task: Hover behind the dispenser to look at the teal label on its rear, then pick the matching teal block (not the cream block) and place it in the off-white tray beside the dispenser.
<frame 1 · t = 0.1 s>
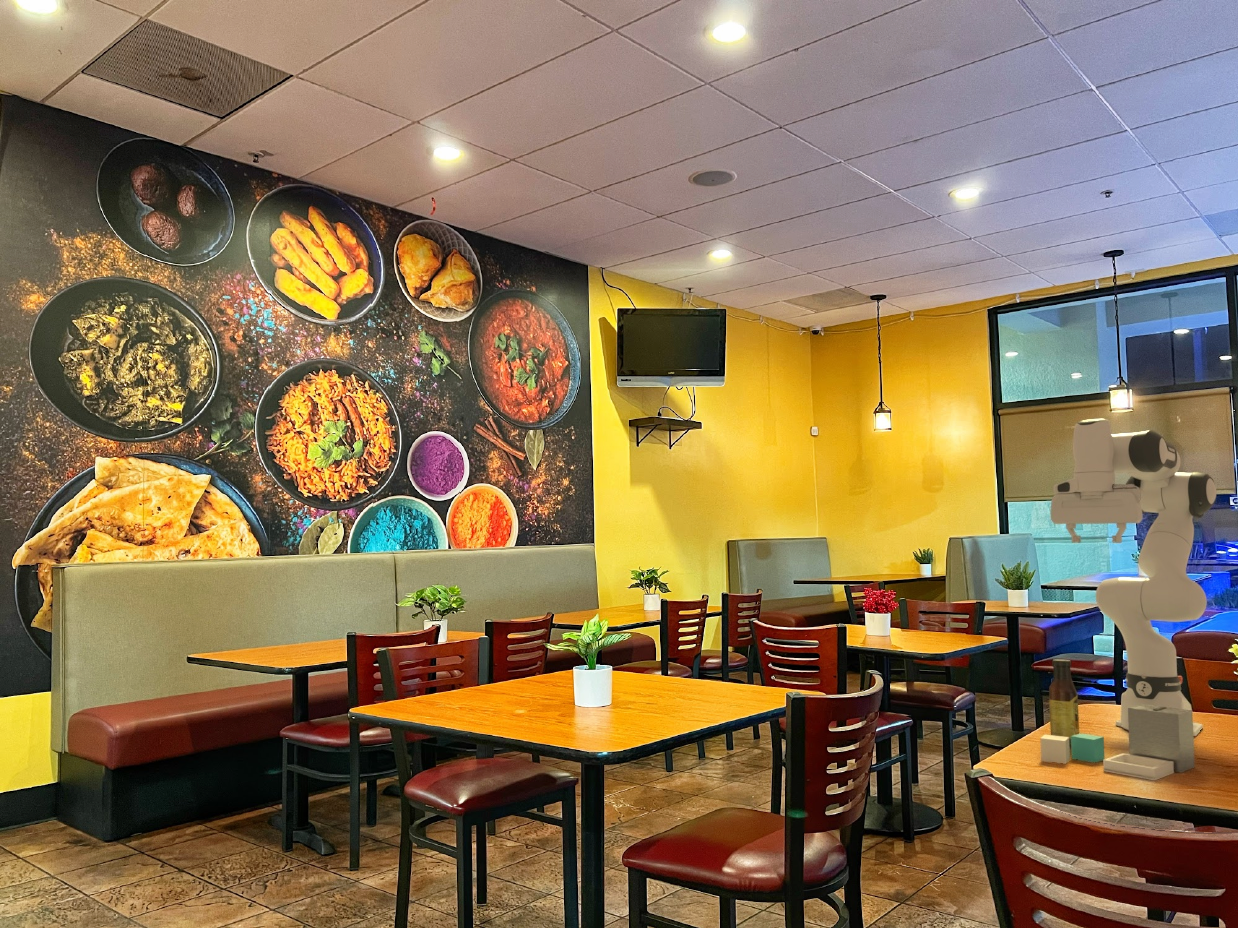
hand: (1096, 542, 224), 48 cm above the table, tool pointing down, fingers open, 8 cm apart
tray: (1138, 771, 197), on the table
dispenser: (1162, 765, 202), on the table
teal block: (1088, 759, 208), on the table
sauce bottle: (1065, 745, 223), on the table
cream block: (1055, 760, 207), on the table
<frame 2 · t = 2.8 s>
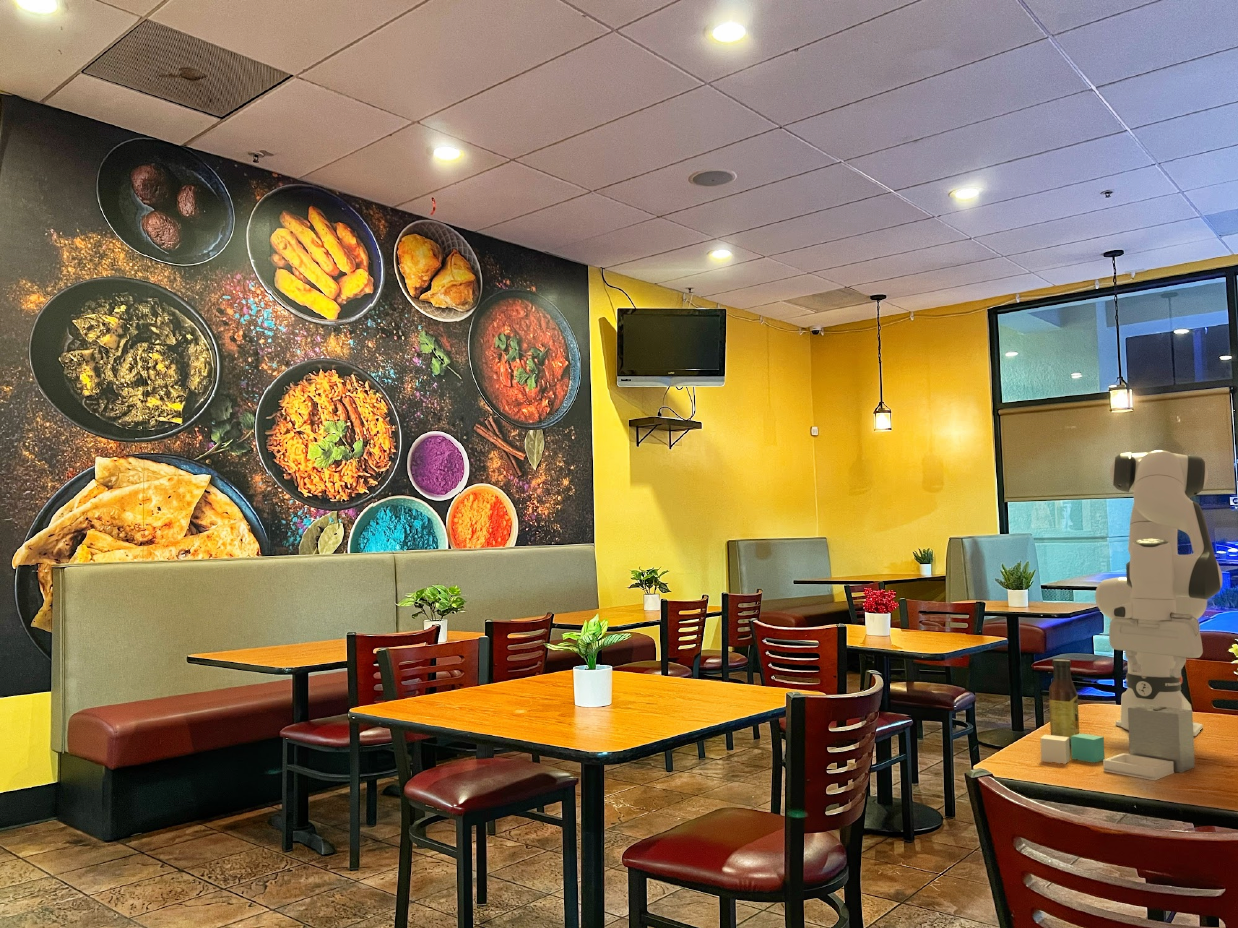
hand: (1155, 674, 208), 19 cm above the table, tool pointing down, fingers open, 8 cm apart
nothing on the table moved.
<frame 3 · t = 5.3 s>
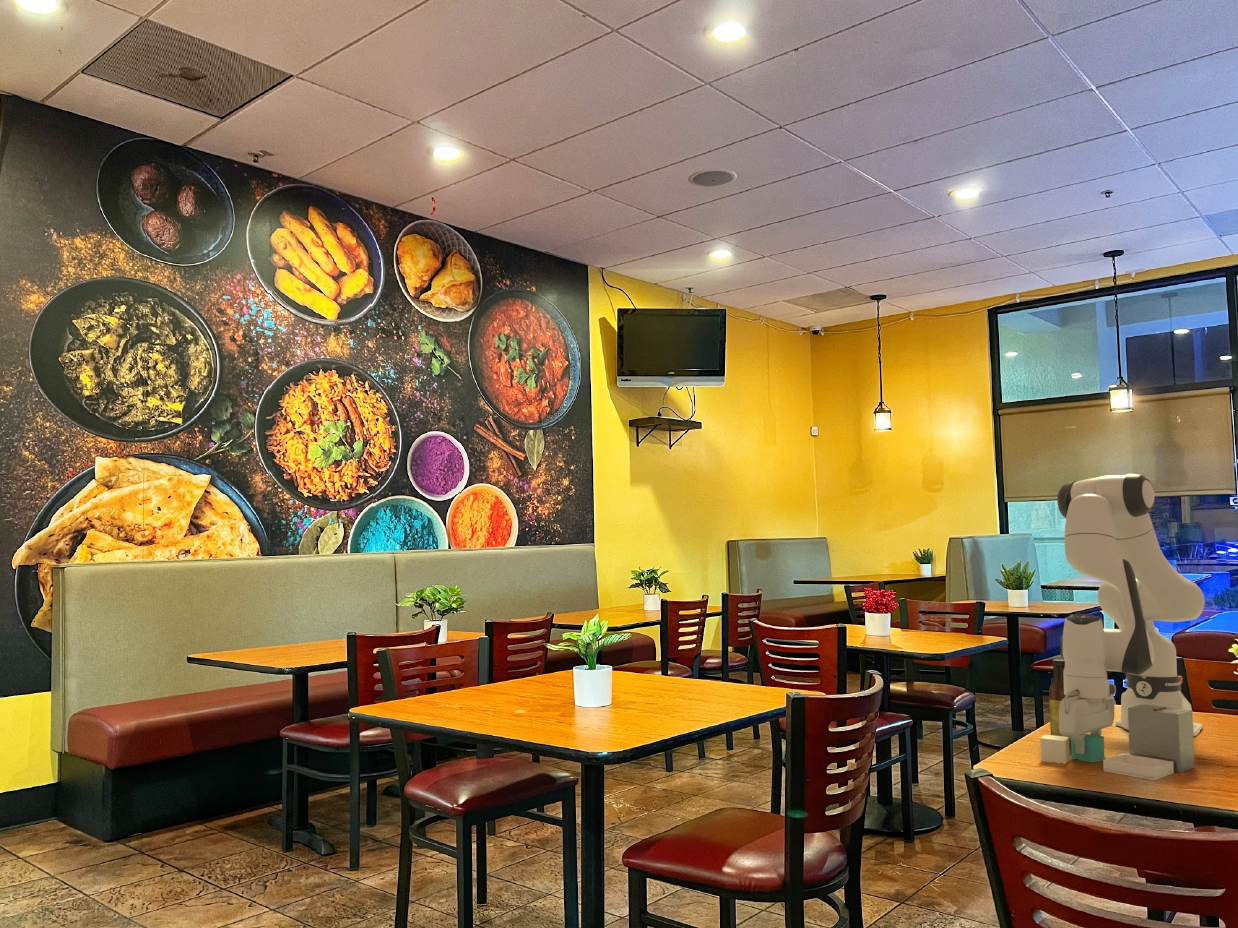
hand: (1087, 751, 208), 2 cm above the table, tool pointing down, fingers closed on teal block, 5 cm apart
teal block: (1088, 758, 208), on the table, touching gripper
everything else where it was.
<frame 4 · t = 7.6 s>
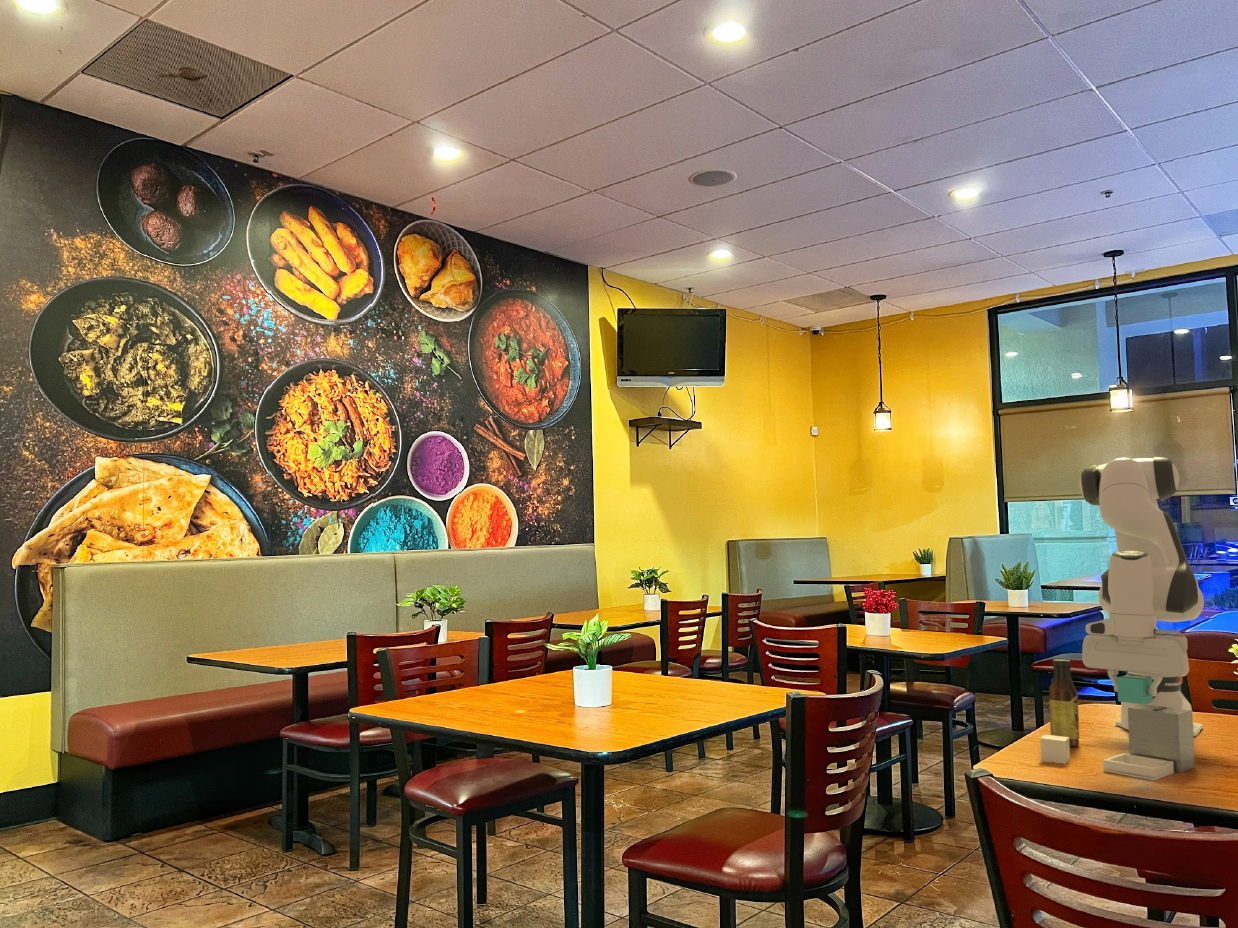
hand: (1135, 693, 198), 16 cm above the table, tool pointing down, fingers closed on teal block, 5 cm apart
teal block: (1135, 701, 198), point 15 cm above the table, touching gripper
everything else where it was.
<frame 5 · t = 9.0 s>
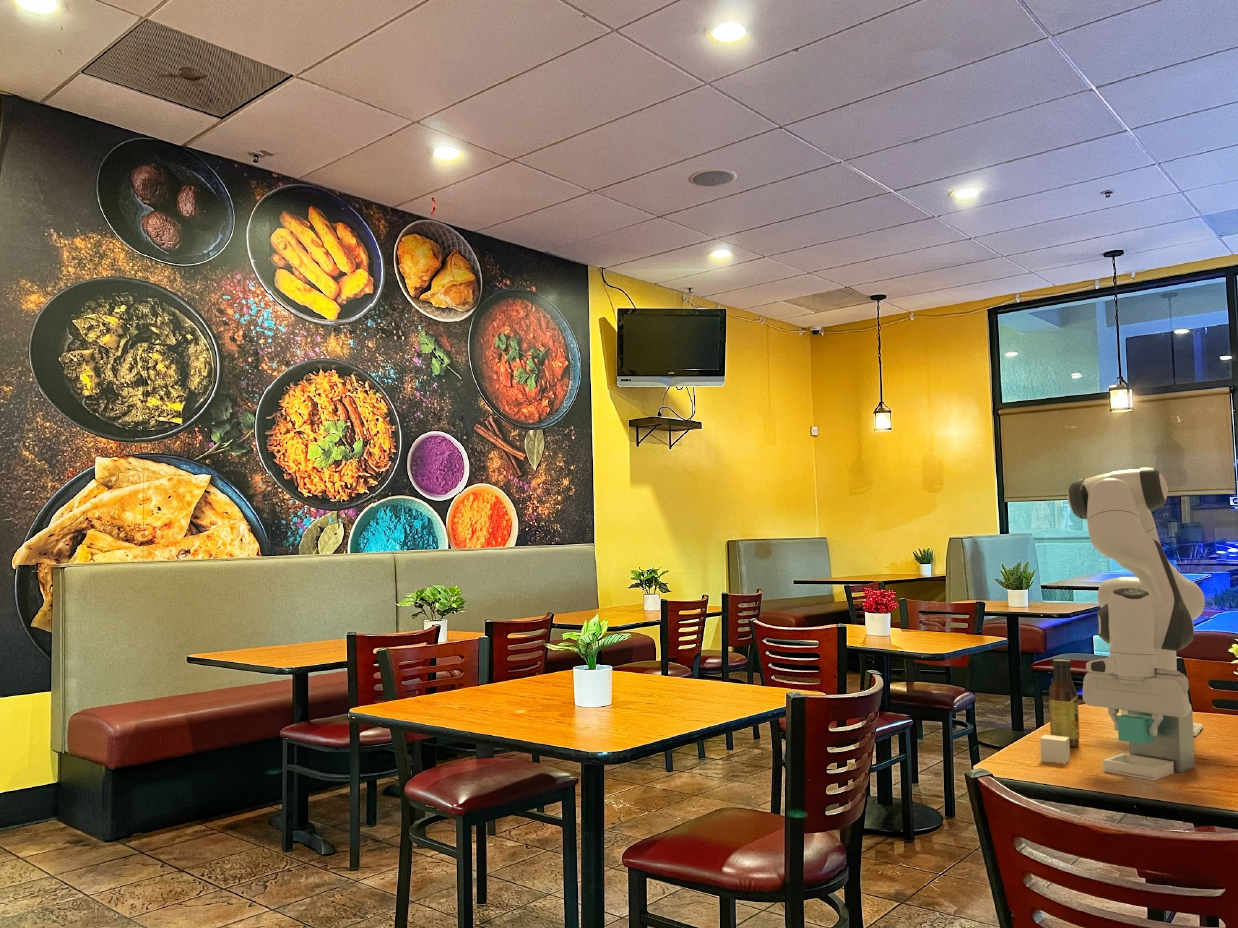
hand: (1135, 732, 197), 8 cm above the table, tool pointing down, fingers closed on teal block, 5 cm apart
teal block: (1136, 740, 197), point 6 cm above the table, touching gripper
everything else where it was.
when the fingers open (5 cm above the table, at t = 10.1 s): teal block drops 2 cm, resting on tray.
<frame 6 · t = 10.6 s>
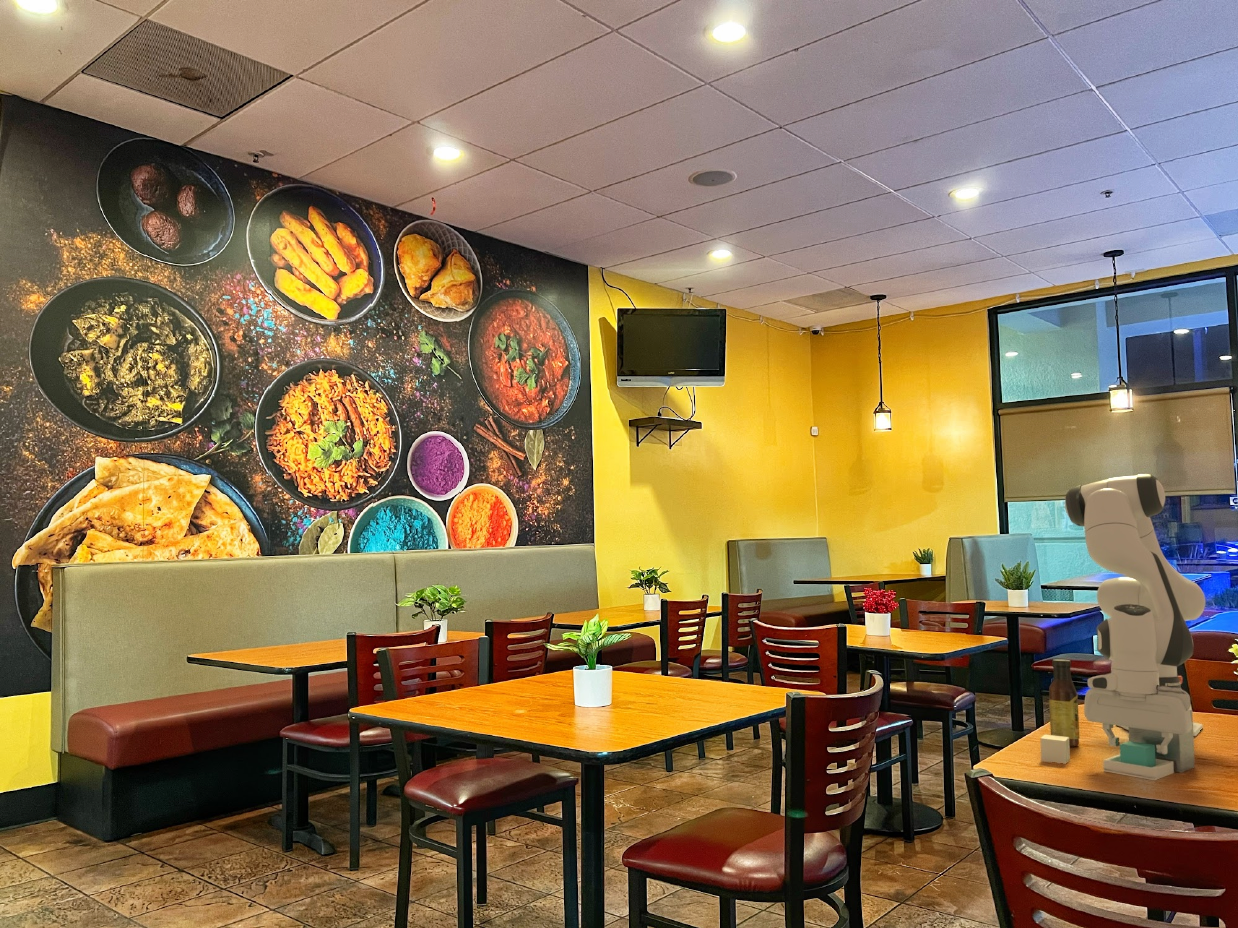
hand: (1137, 749, 197), 5 cm above the table, tool pointing down, fingers open, 8 cm apart
teal block: (1138, 768, 197), point 1 cm above the table, touching tray
everything else where it was.
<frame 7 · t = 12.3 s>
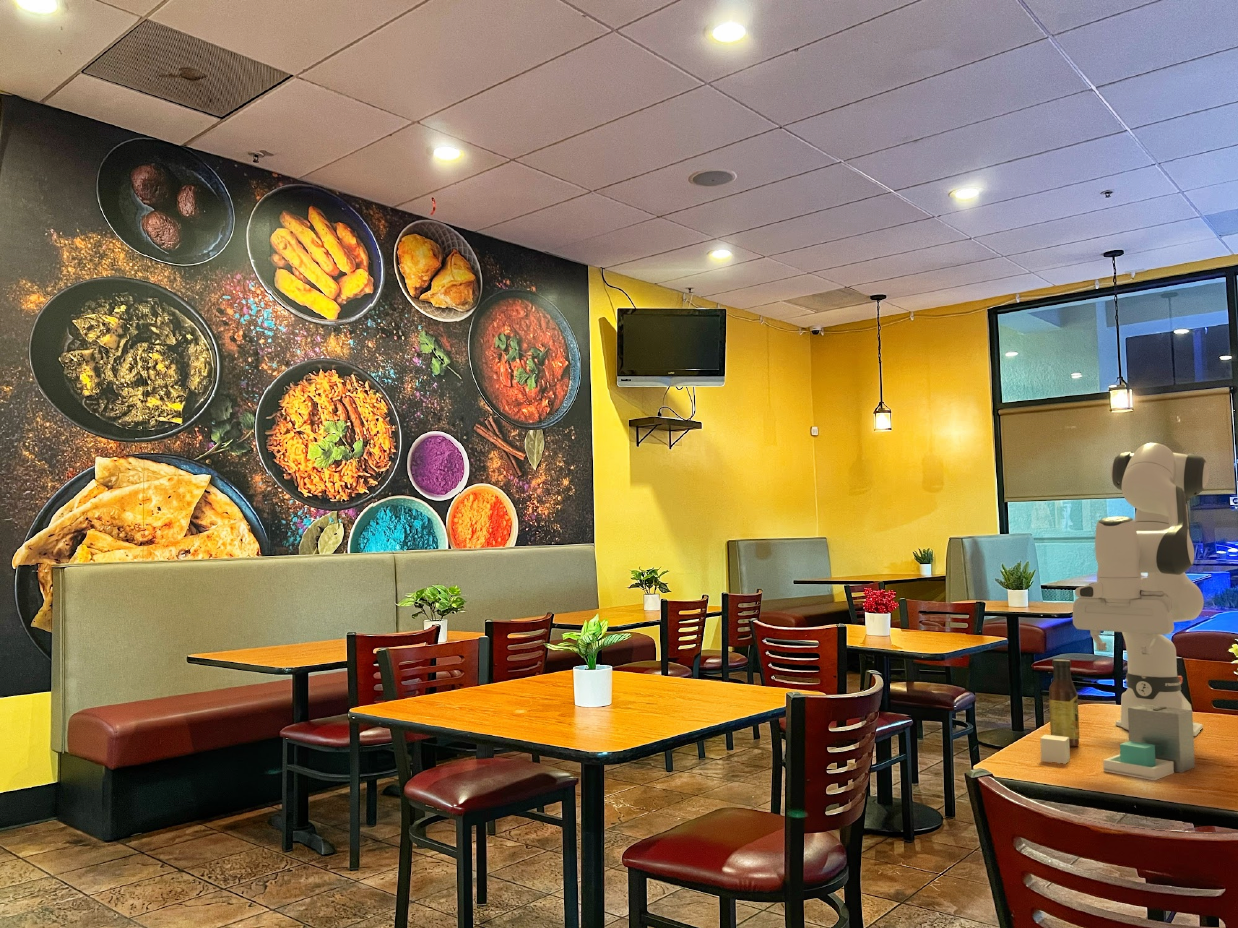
hand: (1123, 652, 208), 24 cm above the table, tool pointing down, fingers open, 8 cm apart
nothing on the table moved.
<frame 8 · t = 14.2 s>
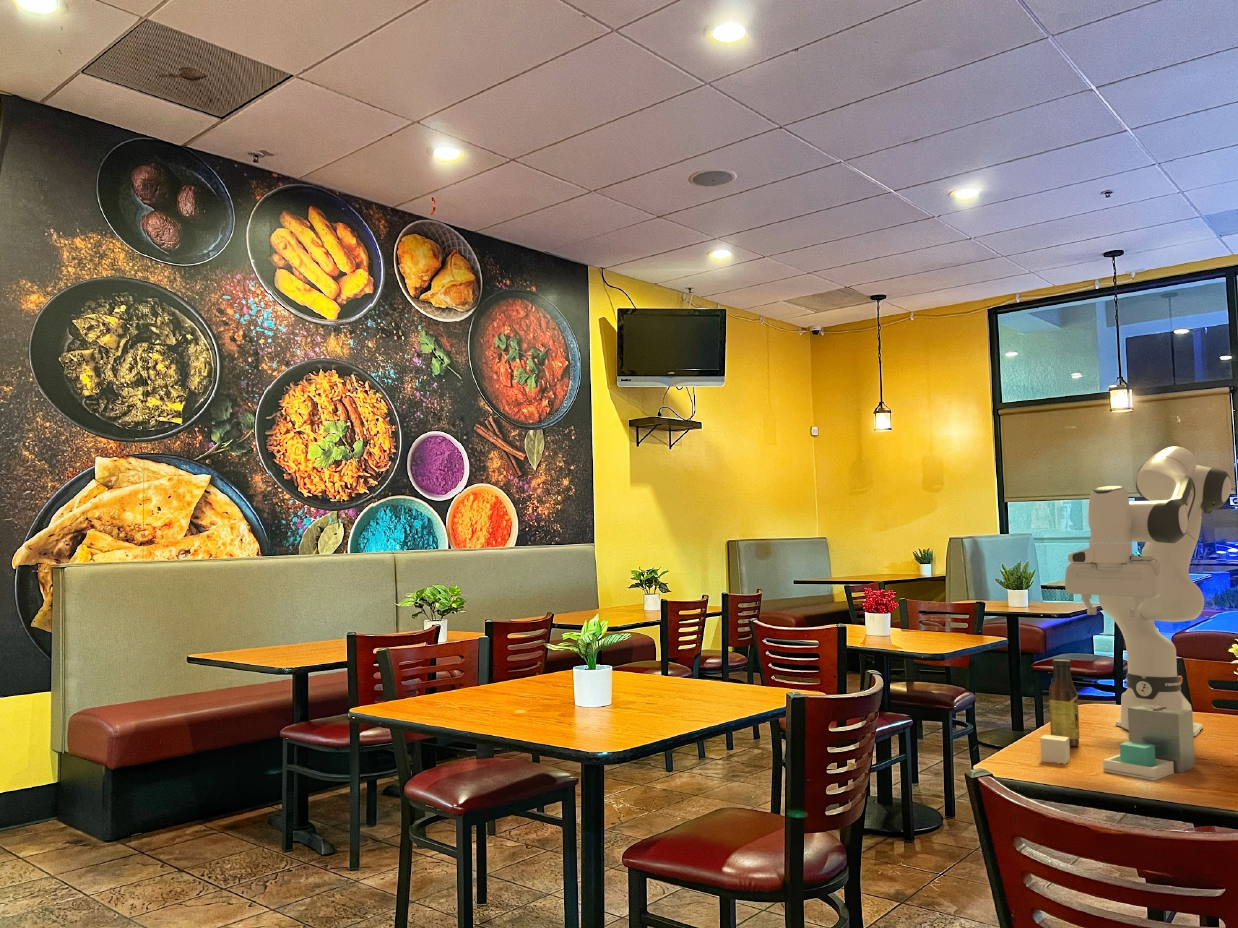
hand: (1113, 615, 216), 31 cm above the table, tool pointing down, fingers open, 8 cm apart
nothing on the table moved.
at the end: teal block inside the target area on the tray (0.1 cm from its centre), point 0.6 cm above the tray's base; the gripper is holding nothing; cream block moved 0.1 cm from its start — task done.
